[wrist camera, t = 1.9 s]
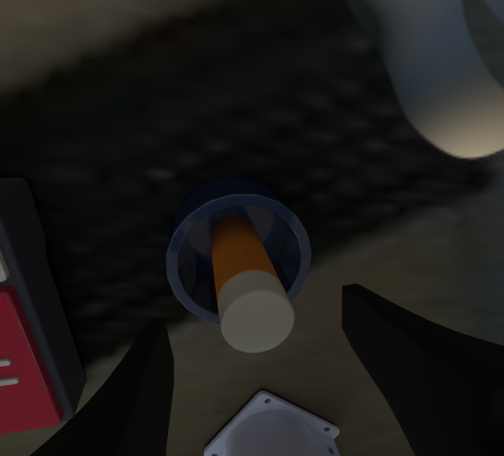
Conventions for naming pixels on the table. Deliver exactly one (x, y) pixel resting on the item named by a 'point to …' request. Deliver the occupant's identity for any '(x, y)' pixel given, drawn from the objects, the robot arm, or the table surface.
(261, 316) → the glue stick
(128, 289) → the table surface
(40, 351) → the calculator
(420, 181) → the table surface
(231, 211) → the dark blue round bowl
